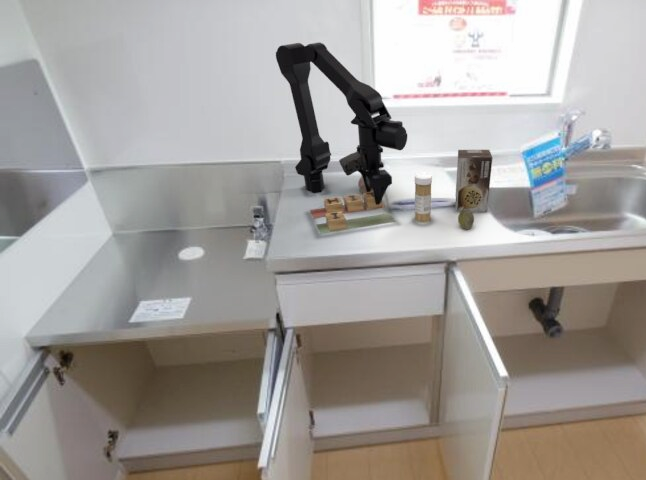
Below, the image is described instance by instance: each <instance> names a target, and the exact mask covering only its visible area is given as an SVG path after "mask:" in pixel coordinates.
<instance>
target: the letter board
mask: <svg viewBox="0 0 646 480" xmlns="http://www.w3.org/2000/svg"><path fill="white" fill-rule="evenodd" d="M378 209H379V210H380V209H386V206H385V205H384V204H383V207H377V208H370V209H368V208H367V207H366V205H365V204H364V201H363V210H359V211H352V212H348V211H347V209H346V207H345V205H344V204H343V210H344V213H343V215H346V214H347V215H348V214H353V213H359V212H367V211H372V210H373V211H374V210H378ZM309 213H310V214H311V217H312V219H313V220H314V219H319V218H326V216H325V214H327V212H326V210H325V207H322V208H315V209H309ZM395 222H396V223H397V220H396V219H395V218H394V217H393V215H392V214H391V213H390V212H387V213H380V214H374V215H367V216H363V217H355V218H349V219H346V226H347V228H346V229H340V230H334V231H330V230H329V228H328V226H327V223H326V222H323V223H317V224H315V226H316V228H317V231H318V232H319V235H324V234H330V233H336V232H341V231H342V232H343V231H347V230H355V229H359V228H367V227H373V226H378V225H383V224H384V225H385V224H390V223H395Z"/></svg>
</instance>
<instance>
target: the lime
mask: <svg viewBox="0 0 646 480" xmlns="http://www.w3.org/2000/svg"><path fill="white" fill-rule="evenodd" d="M457 222H458V224H459V225H460V226H461V227H462V228H464V229H465V230H469V229H472V227H473V225H474V222H475V216H474V212H472V211H470V210H468V209H466V210H463V211H462V212H459V214H458V216H457Z"/></svg>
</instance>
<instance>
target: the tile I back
mask: <svg viewBox="0 0 646 480" xmlns="http://www.w3.org/2000/svg"><path fill="white" fill-rule="evenodd" d="M363 202H364V199H363V197H361V195H360V194H359V193H357V194H349V195H348V194H347V195H344V196H343V205H345V207H346V209H347V211H348V212H352V211H359V210H363Z"/></svg>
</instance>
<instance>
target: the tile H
mask: <svg viewBox="0 0 646 480" xmlns="http://www.w3.org/2000/svg"><path fill="white" fill-rule="evenodd" d="M323 205H324V208H325V210H326V212H327V213H334V212H340V211H342V213H344V210H343V205H344V202H343V201H342V200H341V198H340V196H334V197H328V198H323Z"/></svg>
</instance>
